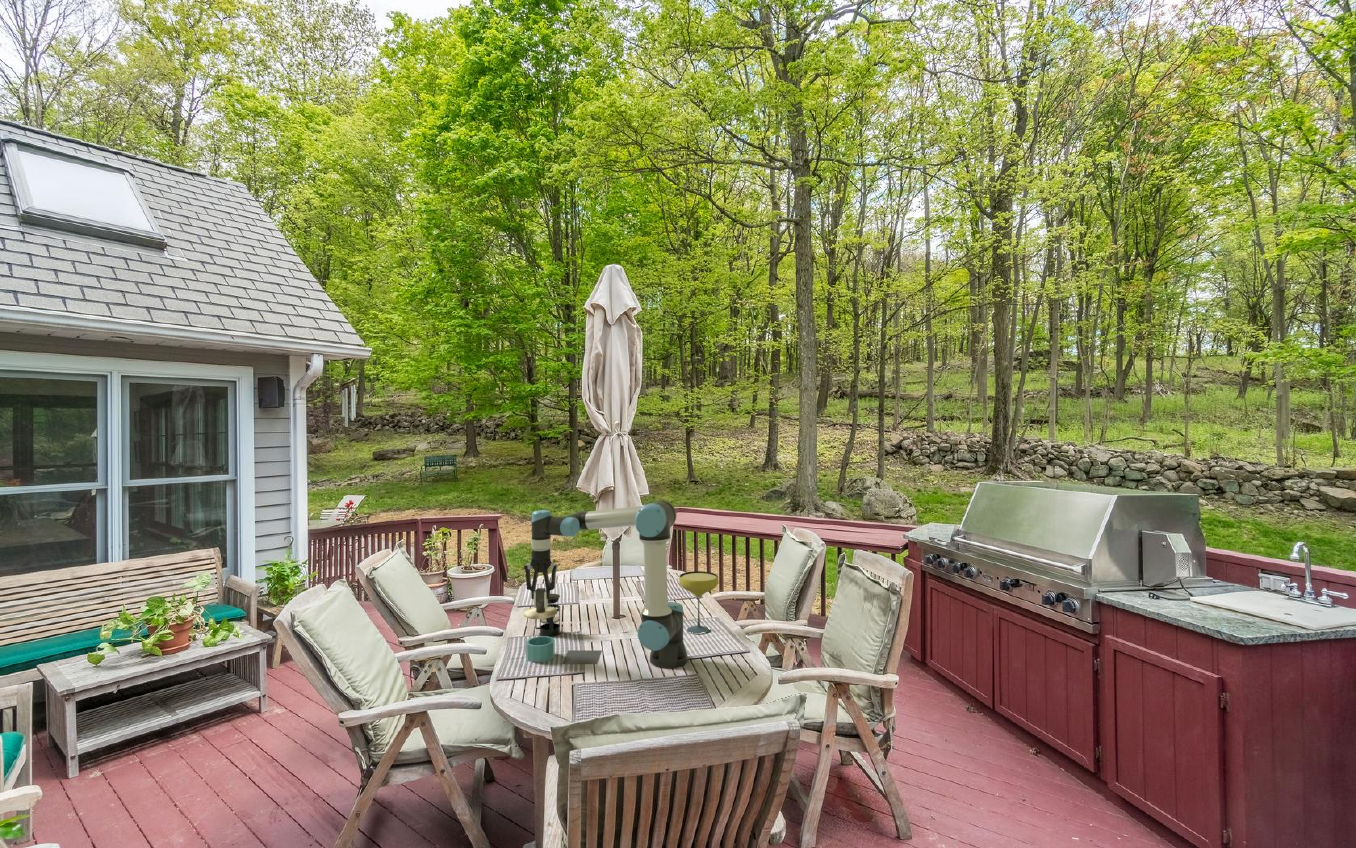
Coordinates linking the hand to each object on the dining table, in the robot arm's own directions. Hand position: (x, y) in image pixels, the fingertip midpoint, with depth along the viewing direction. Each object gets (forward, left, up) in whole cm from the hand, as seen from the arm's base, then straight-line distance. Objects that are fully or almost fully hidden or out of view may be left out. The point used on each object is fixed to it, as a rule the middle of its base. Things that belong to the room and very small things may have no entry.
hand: (540, 606), depth 236 cm
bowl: (0, 0, -21) cm, 21 cm away
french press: (+3, -28, -21) cm, 35 cm away
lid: (0, 0, -3) cm, 3 cm away
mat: (-17, 0, -21) cm, 27 cm away
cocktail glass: (-65, -33, -21) cm, 76 cm away
